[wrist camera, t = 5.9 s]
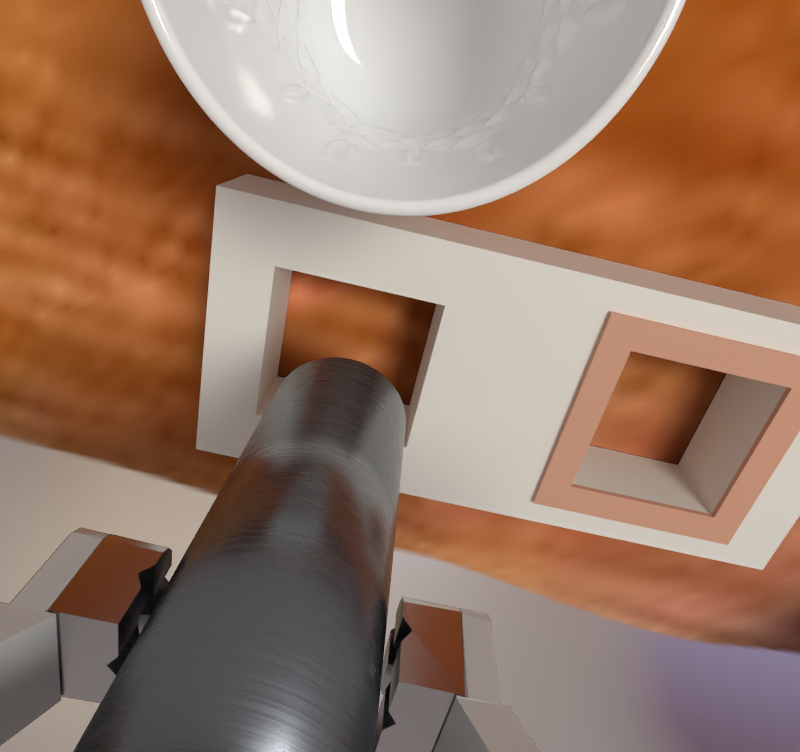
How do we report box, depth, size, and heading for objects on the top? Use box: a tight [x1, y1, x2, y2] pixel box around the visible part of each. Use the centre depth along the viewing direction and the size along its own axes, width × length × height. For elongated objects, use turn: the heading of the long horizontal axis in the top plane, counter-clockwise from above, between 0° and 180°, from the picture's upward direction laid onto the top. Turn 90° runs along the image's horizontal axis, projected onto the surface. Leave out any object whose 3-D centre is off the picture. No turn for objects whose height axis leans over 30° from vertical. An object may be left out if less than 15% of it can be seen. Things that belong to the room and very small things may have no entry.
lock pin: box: [74, 358, 406, 752], centre depth 10 cm, size 4×4×11 cm
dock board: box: [196, 174, 800, 570], centre depth 20 cm, size 21×9×3 cm, turn 77°
